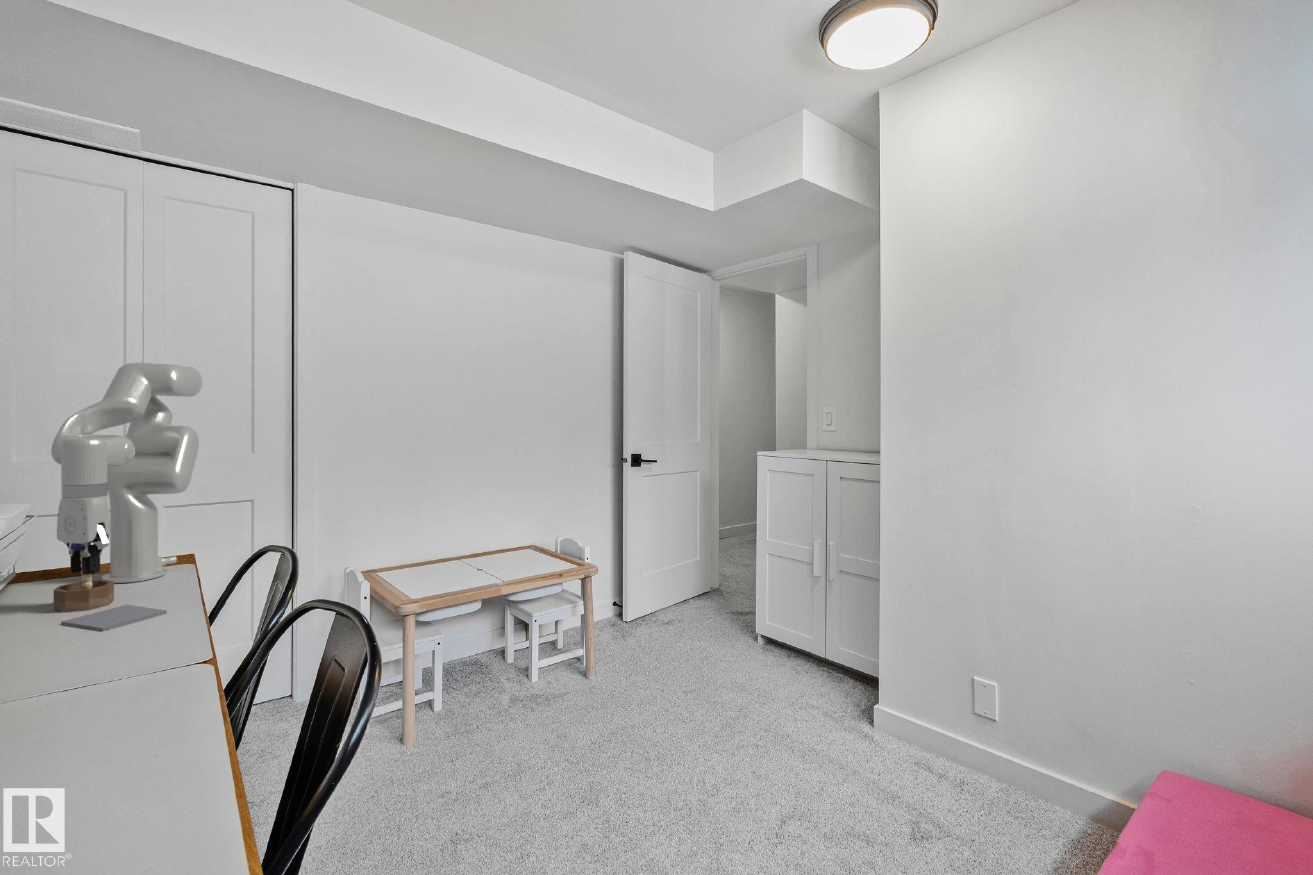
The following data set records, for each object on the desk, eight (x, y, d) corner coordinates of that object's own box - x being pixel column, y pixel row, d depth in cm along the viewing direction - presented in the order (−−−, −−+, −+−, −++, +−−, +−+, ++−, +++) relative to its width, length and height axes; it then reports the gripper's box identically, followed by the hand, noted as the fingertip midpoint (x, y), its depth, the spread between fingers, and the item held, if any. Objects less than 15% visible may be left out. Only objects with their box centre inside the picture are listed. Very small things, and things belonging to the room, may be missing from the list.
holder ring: (94, 597, 140) (94, 578, 140) (122, 601, 138) (122, 582, 138) (45, 609, 131) (45, 588, 131) (74, 613, 129) (74, 592, 129)
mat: (126, 607, 134) (126, 604, 134) (166, 612, 131) (166, 610, 131) (61, 624, 122) (61, 621, 122) (103, 631, 119) (103, 628, 119)
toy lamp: (85, 606, 133) (85, 532, 132) (64, 606, 133) (64, 531, 132) (105, 600, 137) (105, 528, 137) (85, 599, 137) (85, 527, 137)
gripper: (39, 491, 133) (39, 573, 133) (91, 496, 128) (91, 580, 129) (79, 487, 140) (79, 565, 141) (129, 492, 136) (130, 571, 136)
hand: (85, 571), depth 135 cm, fingers closed on toy lamp, 2 cm apart
